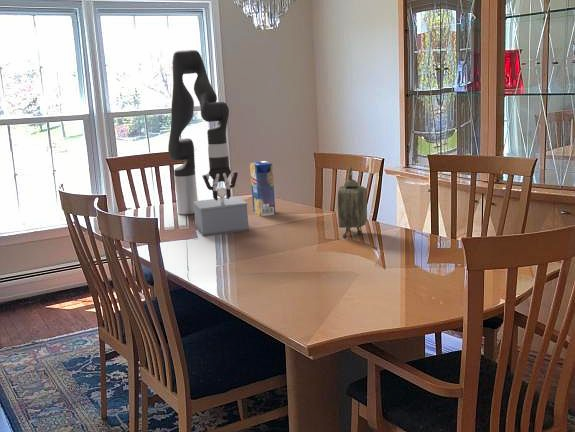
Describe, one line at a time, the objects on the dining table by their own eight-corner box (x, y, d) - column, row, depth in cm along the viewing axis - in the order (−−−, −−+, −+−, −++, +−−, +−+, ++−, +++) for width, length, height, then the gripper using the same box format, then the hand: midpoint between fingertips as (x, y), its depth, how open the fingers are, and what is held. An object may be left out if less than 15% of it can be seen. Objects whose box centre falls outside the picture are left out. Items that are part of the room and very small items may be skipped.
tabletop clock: (343, 229, 246) (341, 164, 241) (367, 229, 244) (365, 163, 239) (339, 239, 232) (336, 170, 227) (364, 239, 230) (362, 170, 225)
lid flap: (193, 203, 261) (191, 184, 260) (237, 198, 267) (236, 179, 265) (200, 210, 247) (198, 190, 245) (247, 205, 252) (245, 185, 250)
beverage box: (268, 209, 289) (264, 160, 284) (275, 214, 279) (272, 163, 274) (253, 211, 287) (249, 162, 282) (260, 216, 277) (256, 165, 272)
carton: (196, 227, 264) (193, 203, 262) (239, 222, 269) (237, 198, 267) (203, 236, 249) (201, 210, 247) (248, 230, 254) (246, 205, 252)
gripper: (234, 152, 253) (237, 195, 256) (198, 156, 249) (202, 199, 252) (238, 154, 246) (242, 198, 249) (201, 158, 242) (205, 203, 245)
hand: (222, 199), depth 251 cm, fingers closed on lid flap, 4 cm apart
